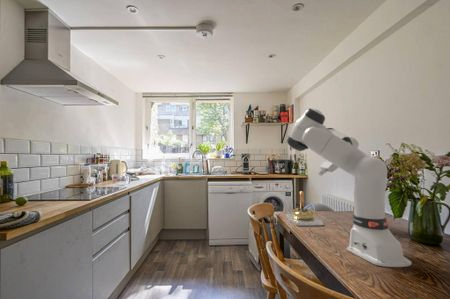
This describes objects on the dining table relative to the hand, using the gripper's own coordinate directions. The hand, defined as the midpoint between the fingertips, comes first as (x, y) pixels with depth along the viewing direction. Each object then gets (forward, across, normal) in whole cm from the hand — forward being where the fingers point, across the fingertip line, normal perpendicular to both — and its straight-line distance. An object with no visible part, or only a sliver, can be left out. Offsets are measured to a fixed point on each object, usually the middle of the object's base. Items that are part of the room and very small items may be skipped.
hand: (319, 174), depth 151 cm
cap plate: (+27, +7, +11) cm, 30 cm away
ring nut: (+26, +6, +10) cm, 28 cm away
